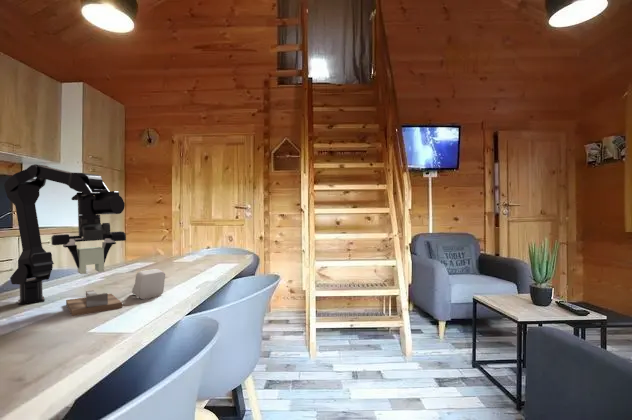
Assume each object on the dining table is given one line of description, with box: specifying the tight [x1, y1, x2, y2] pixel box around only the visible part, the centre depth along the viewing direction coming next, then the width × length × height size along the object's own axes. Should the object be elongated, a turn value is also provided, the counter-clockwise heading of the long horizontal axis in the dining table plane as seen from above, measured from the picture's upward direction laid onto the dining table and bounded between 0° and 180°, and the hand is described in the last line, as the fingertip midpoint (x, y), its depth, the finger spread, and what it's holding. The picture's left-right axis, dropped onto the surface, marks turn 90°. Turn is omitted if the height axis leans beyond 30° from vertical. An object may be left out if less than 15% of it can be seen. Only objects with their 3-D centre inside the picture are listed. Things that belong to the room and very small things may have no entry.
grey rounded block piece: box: [131, 268, 166, 300], centre depth 121 cm, size 8×10×10 cm
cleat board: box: [65, 289, 123, 317], centre depth 108 cm, size 16×12×4 cm
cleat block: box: [77, 246, 105, 275], centre depth 112 cm, size 7×6×7 cm
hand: (90, 266), depth 112 cm, fingers closed on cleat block, 6 cm apart
